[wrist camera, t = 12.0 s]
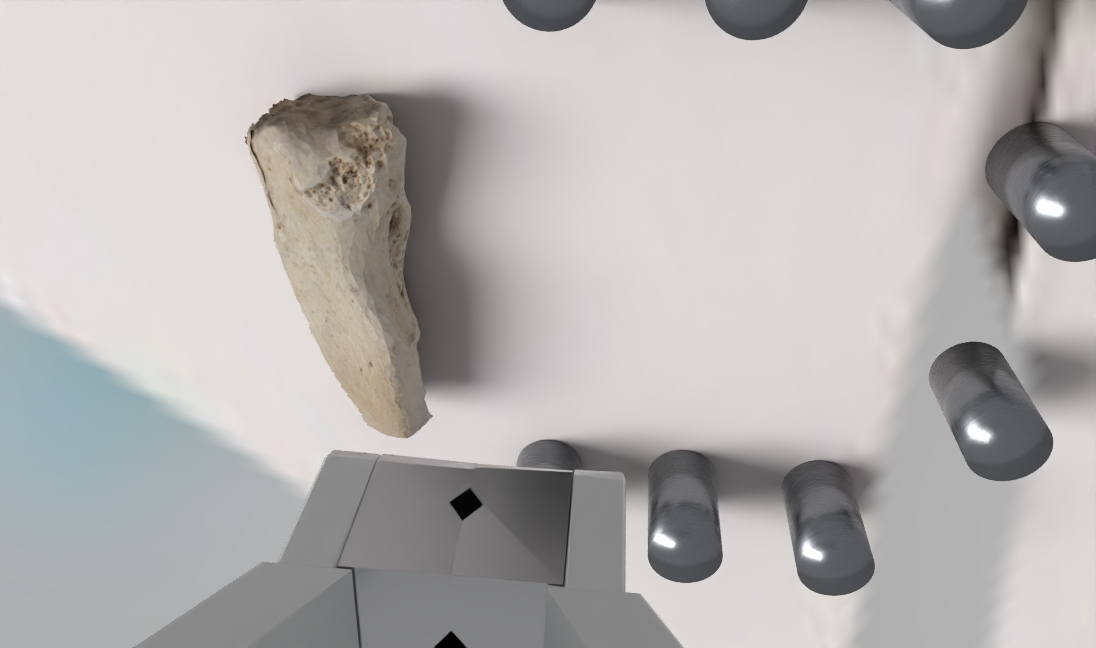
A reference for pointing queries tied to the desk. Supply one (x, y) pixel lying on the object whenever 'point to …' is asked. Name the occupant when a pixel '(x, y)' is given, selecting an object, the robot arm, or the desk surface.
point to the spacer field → (956, 375)
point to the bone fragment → (347, 245)
